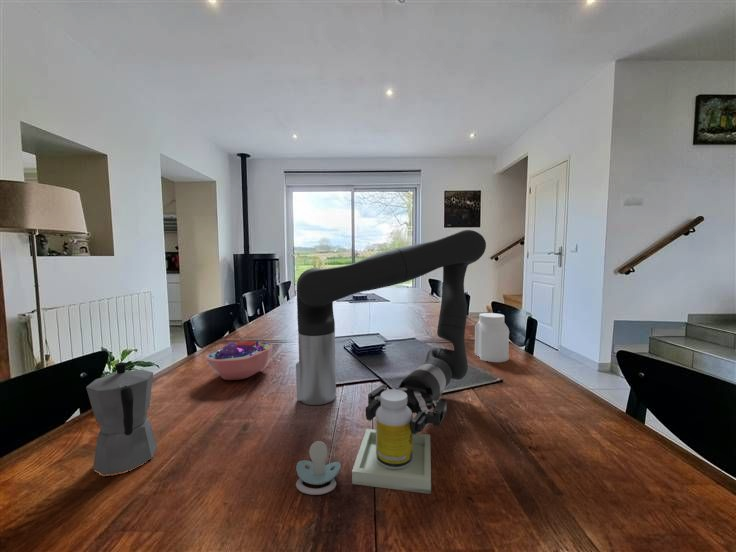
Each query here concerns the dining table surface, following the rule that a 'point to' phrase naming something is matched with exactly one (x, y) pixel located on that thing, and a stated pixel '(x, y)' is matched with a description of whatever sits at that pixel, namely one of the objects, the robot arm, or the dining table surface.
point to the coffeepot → (122, 419)
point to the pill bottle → (394, 430)
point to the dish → (405, 479)
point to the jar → (492, 338)
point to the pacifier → (317, 470)
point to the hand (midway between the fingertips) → (389, 421)
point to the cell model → (239, 359)
